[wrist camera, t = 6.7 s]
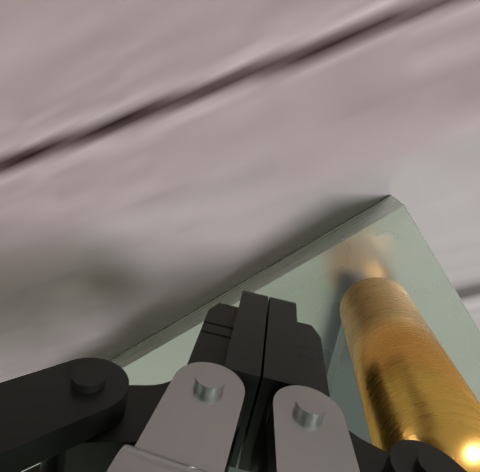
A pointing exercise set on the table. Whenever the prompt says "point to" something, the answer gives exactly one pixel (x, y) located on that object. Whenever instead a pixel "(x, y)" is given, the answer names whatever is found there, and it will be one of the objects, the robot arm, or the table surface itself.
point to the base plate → (334, 294)
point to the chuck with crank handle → (399, 377)
